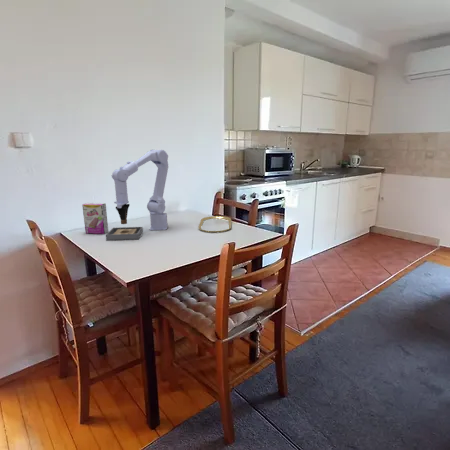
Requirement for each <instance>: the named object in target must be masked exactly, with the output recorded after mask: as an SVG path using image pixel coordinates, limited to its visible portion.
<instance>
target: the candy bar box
mask: <svg viewBox="0 0 450 450" xmlns="http://www.w3.org/2000/svg"><path fill="white" fill-rule="evenodd" d="M81 206H82V213H83V222H84V230H85V234H86V235H87V234H89V235H91V234H92V235H96V234H97V235H106V234H107V233H108V232H109V223H108V213H107V204H106V203H104V202H85V203H83V204H82V205H81Z"/></svg>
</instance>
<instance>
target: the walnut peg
mask: <svg viewBox="0 0 450 450" xmlns="http://www.w3.org/2000/svg"><path fill="white" fill-rule="evenodd" d="M127 218H128V216H127V217H126V218H125V220H121V219H120V224H121V225H126V224H128V219H127Z"/></svg>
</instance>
